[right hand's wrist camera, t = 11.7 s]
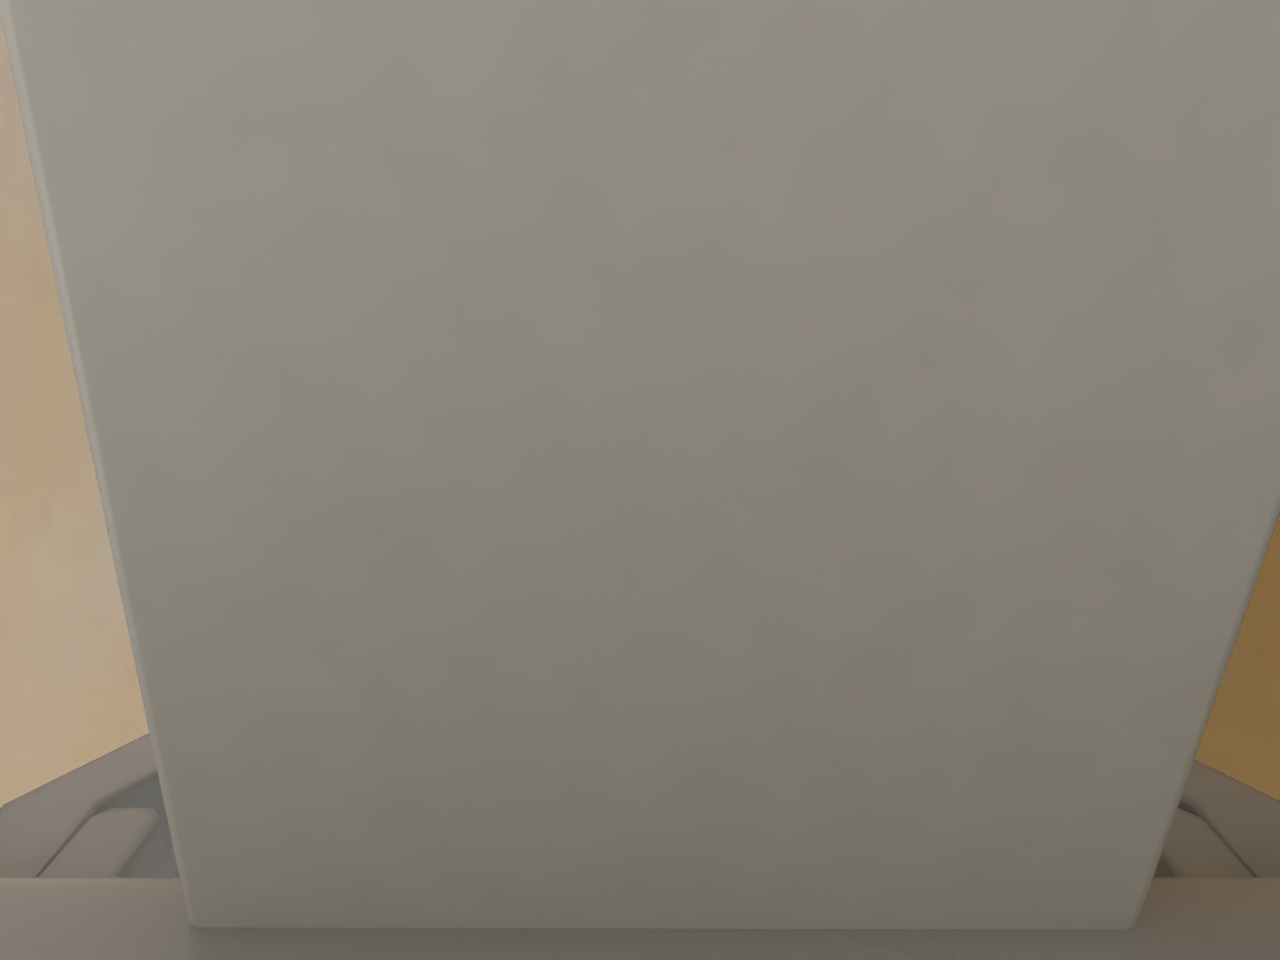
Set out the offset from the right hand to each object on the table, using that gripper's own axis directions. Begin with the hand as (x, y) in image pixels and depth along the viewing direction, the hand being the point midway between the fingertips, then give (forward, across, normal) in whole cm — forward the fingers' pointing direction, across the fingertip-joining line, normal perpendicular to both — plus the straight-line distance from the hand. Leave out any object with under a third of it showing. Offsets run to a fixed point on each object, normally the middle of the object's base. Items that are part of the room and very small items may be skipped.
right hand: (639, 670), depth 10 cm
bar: (+4, 0, -8) cm, 9 cm away
